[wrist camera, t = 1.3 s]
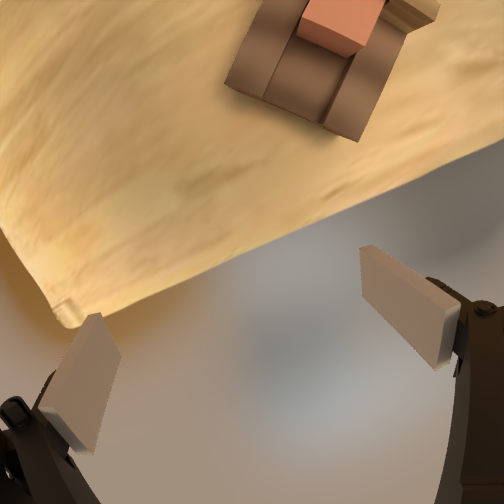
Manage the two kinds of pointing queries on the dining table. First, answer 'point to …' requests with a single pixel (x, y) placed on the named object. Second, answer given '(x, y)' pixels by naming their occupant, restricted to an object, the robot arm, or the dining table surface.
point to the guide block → (323, 64)
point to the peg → (339, 24)
